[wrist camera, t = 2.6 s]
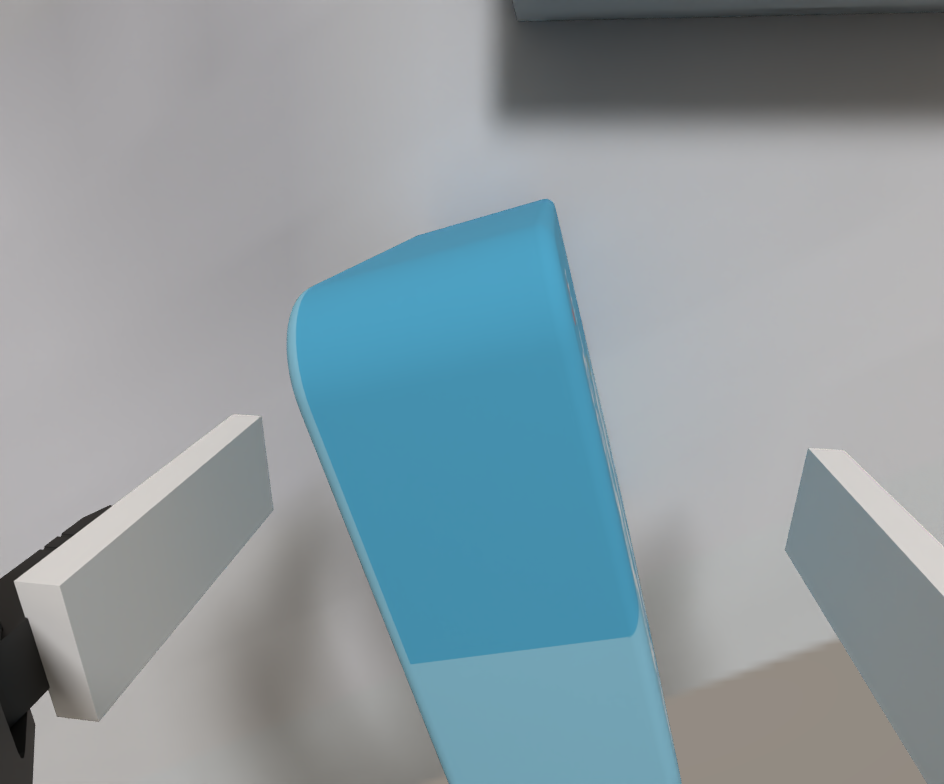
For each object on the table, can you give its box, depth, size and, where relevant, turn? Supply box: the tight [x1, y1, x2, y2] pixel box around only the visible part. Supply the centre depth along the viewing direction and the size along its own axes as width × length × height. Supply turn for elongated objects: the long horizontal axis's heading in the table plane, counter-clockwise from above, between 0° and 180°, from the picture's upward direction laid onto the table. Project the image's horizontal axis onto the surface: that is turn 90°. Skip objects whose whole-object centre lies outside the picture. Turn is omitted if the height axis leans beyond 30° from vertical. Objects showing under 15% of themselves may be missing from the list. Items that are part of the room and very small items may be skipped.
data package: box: [287, 199, 681, 784], centre depth 16 cm, size 12×4×12 cm, turn 16°
